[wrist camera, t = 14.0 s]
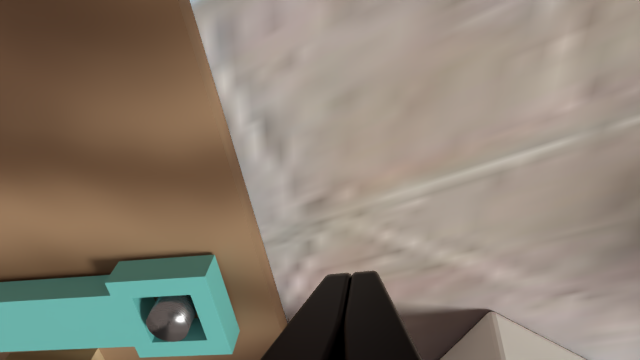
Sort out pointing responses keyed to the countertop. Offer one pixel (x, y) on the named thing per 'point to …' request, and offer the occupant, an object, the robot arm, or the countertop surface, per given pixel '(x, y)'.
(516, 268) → the countertop surface
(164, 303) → the pintle
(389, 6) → the countertop surface
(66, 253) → the board
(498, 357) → the soap bottle
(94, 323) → the link
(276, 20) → the countertop surface
